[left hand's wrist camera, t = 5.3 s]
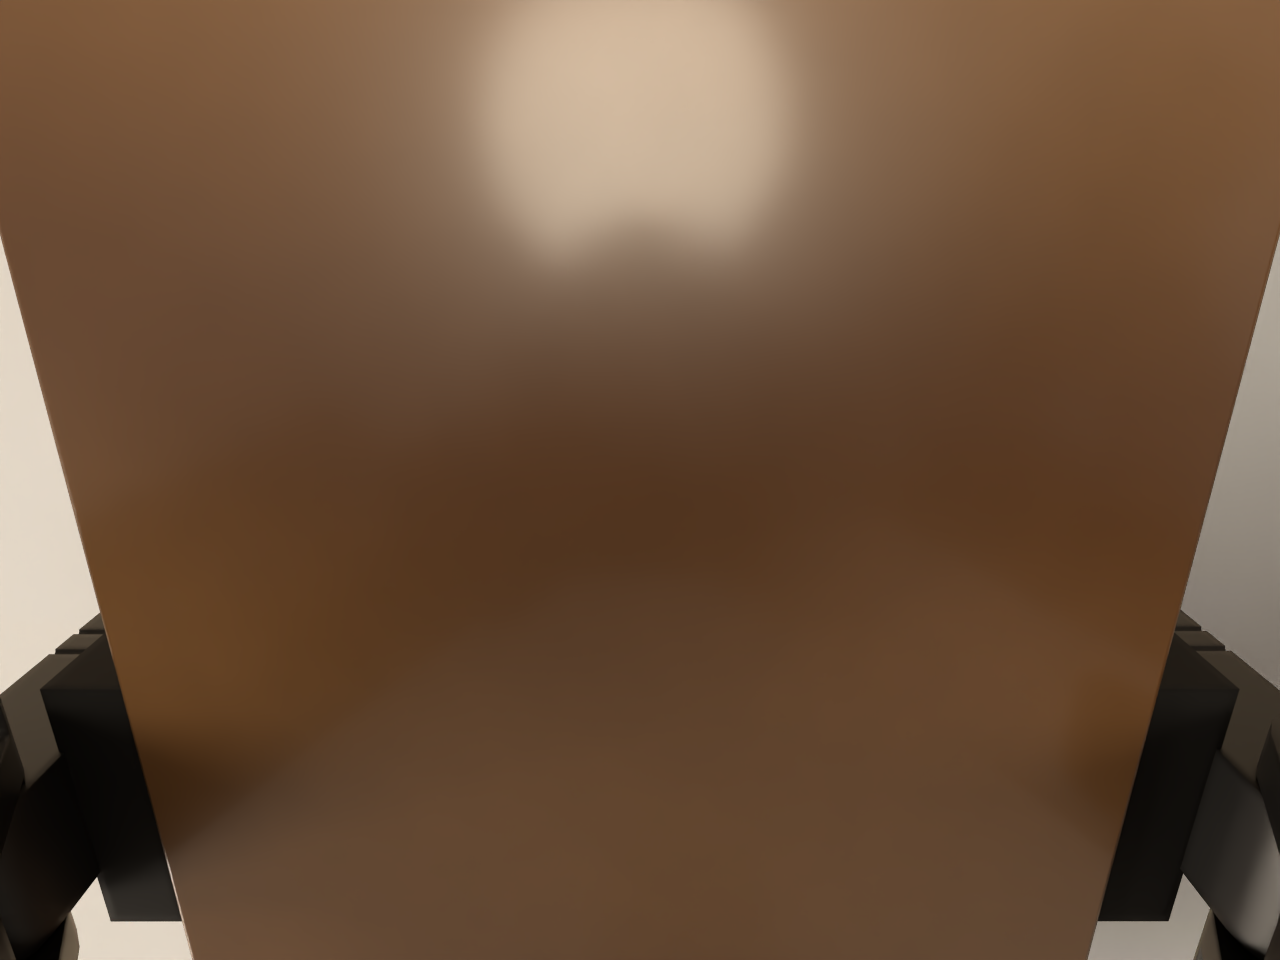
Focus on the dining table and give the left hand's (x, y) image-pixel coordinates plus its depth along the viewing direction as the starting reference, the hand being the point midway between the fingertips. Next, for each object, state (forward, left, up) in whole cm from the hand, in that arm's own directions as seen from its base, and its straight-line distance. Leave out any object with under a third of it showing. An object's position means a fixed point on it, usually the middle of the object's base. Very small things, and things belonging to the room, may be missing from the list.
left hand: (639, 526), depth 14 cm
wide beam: (+14, -16, 0) cm, 21 cm away
